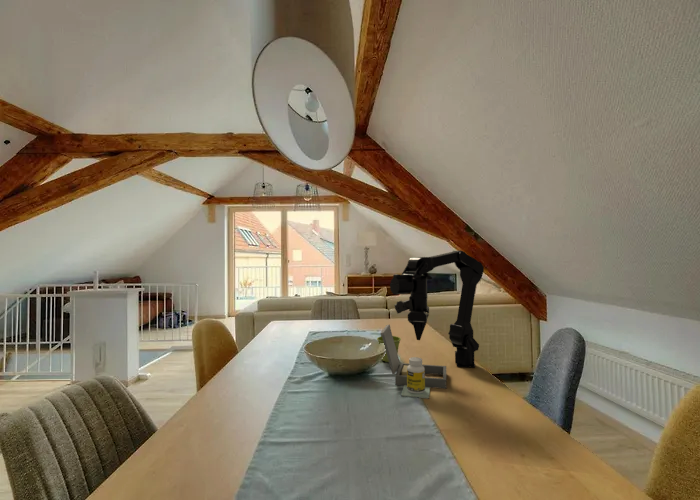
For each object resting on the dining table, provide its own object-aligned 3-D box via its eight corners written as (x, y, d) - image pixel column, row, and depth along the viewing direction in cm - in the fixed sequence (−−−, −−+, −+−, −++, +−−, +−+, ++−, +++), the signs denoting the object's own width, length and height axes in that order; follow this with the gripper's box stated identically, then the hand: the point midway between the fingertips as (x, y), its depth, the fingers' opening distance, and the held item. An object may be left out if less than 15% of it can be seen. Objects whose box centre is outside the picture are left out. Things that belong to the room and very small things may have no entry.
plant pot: (402, 363, 140) (402, 341, 140) (378, 363, 140) (377, 341, 140) (399, 356, 150) (399, 335, 150) (376, 356, 150) (376, 335, 150)
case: (446, 374, 128) (446, 364, 128) (446, 388, 114) (446, 378, 114) (400, 370, 132) (400, 361, 132) (395, 384, 118) (395, 374, 118)
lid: (389, 324, 132) (386, 325, 133) (383, 332, 120) (380, 333, 120) (400, 362, 131) (396, 362, 132) (395, 373, 119) (391, 374, 119)
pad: (429, 388, 115) (429, 387, 115) (428, 398, 107) (428, 397, 107) (404, 386, 117) (404, 385, 117) (401, 396, 109) (401, 394, 109)
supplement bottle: (404, 392, 111) (404, 360, 111) (410, 386, 115) (409, 355, 115) (422, 395, 108) (421, 362, 108) (427, 389, 113) (426, 357, 113)
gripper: (399, 289, 139) (399, 330, 139) (392, 295, 121) (392, 342, 121) (428, 290, 136) (429, 331, 136) (426, 296, 118) (426, 344, 118)
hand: (419, 337), depth 128 cm, fingers open, 9 cm apart
